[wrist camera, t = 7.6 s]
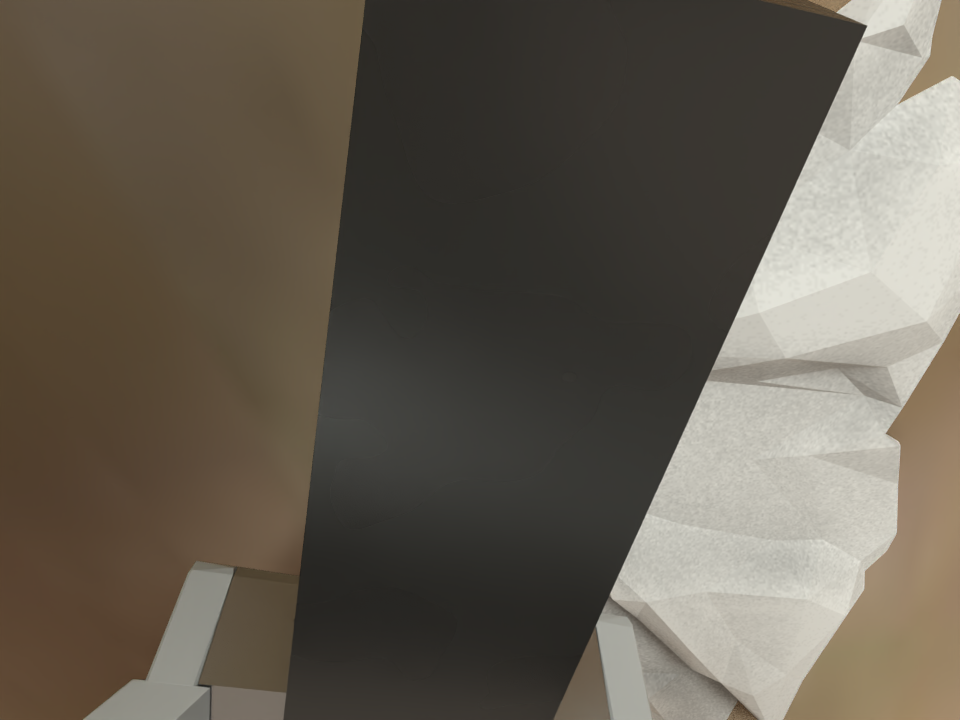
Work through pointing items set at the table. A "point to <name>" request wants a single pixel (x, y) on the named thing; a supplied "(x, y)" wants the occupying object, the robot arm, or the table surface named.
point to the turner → (529, 323)
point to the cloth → (806, 398)
